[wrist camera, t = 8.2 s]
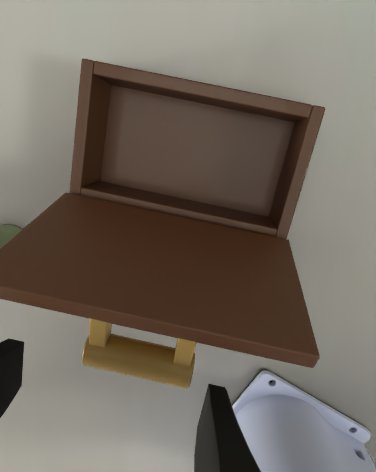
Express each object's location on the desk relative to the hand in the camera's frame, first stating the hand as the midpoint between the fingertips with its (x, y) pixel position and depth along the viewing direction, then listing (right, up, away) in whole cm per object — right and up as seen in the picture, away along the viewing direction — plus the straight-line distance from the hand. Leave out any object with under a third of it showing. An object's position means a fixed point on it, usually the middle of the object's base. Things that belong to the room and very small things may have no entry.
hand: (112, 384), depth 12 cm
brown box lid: (+2, +5, +1) cm, 5 cm away
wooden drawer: (+3, +11, +7) cm, 13 cm away
